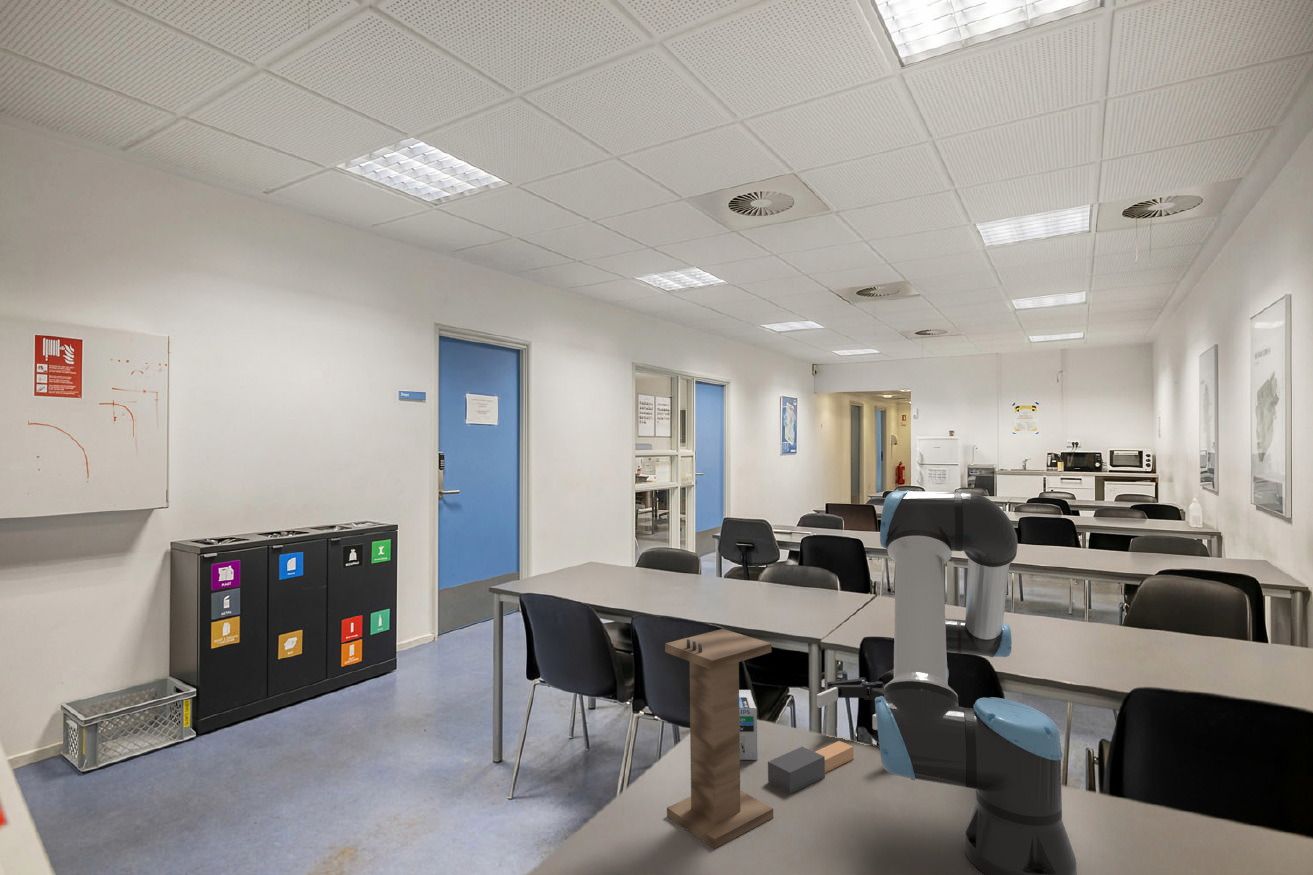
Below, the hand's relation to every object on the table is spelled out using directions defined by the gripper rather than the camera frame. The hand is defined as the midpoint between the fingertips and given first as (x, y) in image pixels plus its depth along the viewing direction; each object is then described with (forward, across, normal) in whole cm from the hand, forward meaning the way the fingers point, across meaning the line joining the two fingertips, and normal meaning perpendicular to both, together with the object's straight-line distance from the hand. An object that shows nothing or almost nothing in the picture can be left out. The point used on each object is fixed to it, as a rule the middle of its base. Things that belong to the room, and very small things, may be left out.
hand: (844, 711), depth 138 cm
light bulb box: (+15, +16, -9) cm, 24 cm away
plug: (+10, 0, -9) cm, 14 cm away
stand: (+36, 0, -8) cm, 37 cm away
